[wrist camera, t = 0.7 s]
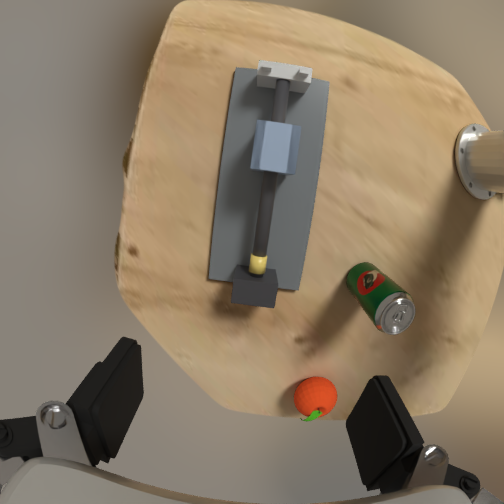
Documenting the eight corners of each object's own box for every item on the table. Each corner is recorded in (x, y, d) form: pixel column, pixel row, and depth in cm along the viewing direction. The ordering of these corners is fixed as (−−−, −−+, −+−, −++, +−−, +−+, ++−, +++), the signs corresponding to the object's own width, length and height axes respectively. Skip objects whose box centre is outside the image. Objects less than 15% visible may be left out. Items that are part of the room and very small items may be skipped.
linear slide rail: (236, 69, 30) (232, 49, 24) (327, 83, 30) (340, 67, 24) (209, 280, 37) (200, 299, 31) (296, 291, 37) (303, 312, 31)
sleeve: (257, 130, 31) (257, 119, 25) (293, 135, 31) (301, 126, 25) (251, 170, 32) (250, 168, 26) (288, 175, 32) (294, 174, 26)
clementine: (313, 405, 43) (319, 433, 36) (280, 394, 42) (283, 424, 36) (340, 375, 41) (351, 404, 34) (307, 362, 41) (314, 392, 34)
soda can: (340, 290, 37) (369, 334, 26) (352, 257, 36) (390, 290, 24) (369, 297, 37) (405, 340, 26) (382, 266, 36) (425, 300, 25)
